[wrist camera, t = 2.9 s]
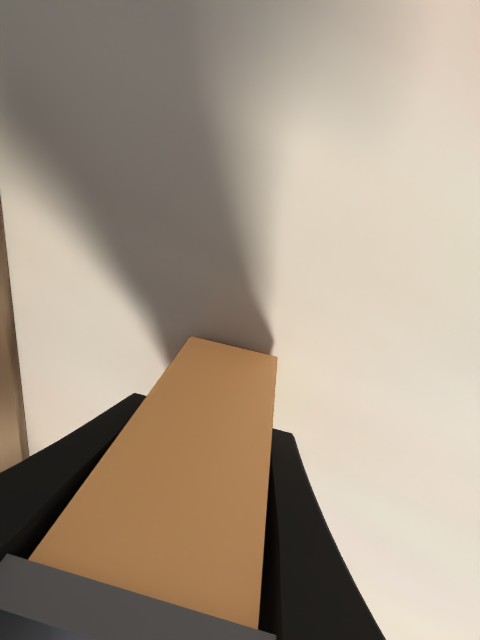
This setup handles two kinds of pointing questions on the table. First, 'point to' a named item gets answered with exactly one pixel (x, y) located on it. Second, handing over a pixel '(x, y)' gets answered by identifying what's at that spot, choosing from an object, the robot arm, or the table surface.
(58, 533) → the plug
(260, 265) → the table surface
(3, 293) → the brown wooden box
